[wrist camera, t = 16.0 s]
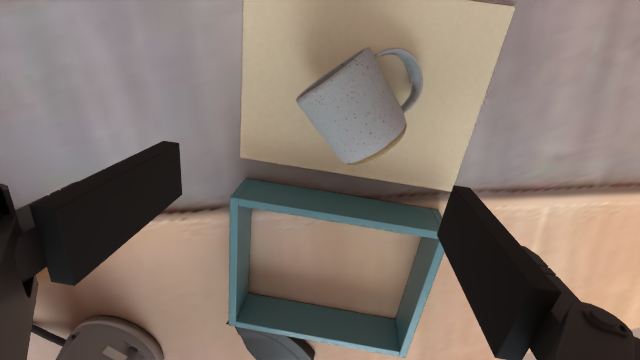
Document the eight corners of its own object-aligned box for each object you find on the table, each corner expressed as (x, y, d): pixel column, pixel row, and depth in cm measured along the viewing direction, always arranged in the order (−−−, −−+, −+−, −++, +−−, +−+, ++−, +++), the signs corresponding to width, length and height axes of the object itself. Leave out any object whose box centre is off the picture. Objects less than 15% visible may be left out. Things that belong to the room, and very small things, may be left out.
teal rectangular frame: (241, 296, 43) (228, 325, 39) (245, 178, 36) (229, 196, 31) (399, 325, 43) (405, 358, 38) (438, 209, 35) (451, 233, 30)
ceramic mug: (345, 155, 33) (345, 184, 26) (300, 92, 31) (286, 104, 24) (435, 98, 30) (462, 113, 23) (392, 22, 28) (407, 13, 21)
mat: (241, 156, 35) (239, 157, 34) (245, -29, 27) (244, -30, 27) (450, 190, 34) (451, 191, 33) (513, 7, 26) (516, 6, 26)
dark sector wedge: (261, 296, 43) (257, 305, 42) (318, 354, 47) (316, 364, 45) (220, 318, 46) (216, 327, 44) (277, 371, 49) (275, 381, 48)
